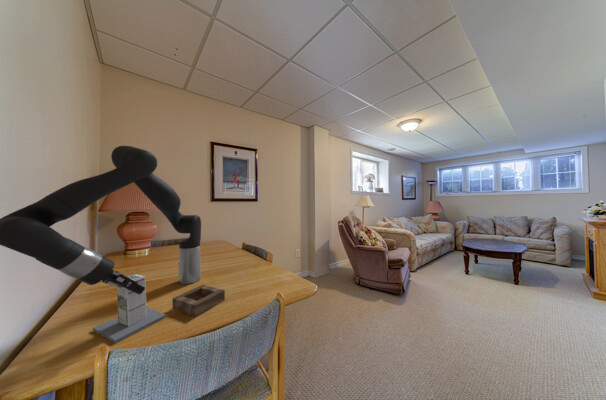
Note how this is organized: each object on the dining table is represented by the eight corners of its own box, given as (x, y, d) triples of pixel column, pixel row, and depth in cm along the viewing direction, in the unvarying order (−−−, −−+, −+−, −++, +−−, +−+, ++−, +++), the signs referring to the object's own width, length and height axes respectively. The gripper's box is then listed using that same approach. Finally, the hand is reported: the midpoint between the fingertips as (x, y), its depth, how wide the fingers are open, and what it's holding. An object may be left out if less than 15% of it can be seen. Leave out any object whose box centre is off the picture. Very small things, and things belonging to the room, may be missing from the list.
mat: (92, 330, 64) (92, 327, 64) (143, 308, 76) (143, 305, 76) (115, 343, 58) (115, 340, 58) (165, 317, 70) (165, 314, 70)
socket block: (172, 308, 76) (172, 298, 76) (202, 293, 88) (202, 284, 88) (195, 317, 71) (195, 305, 70) (224, 299, 82) (224, 290, 82)
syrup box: (147, 317, 69) (146, 275, 69) (127, 327, 63) (126, 282, 63) (137, 314, 71) (136, 273, 71) (116, 323, 66) (115, 279, 65)
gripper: (111, 256, 57) (156, 281, 68) (88, 251, 63) (133, 275, 74) (85, 282, 52) (138, 304, 63) (63, 274, 58) (114, 296, 69)
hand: (135, 288), depth 68 cm, fingers open, 8 cm apart
